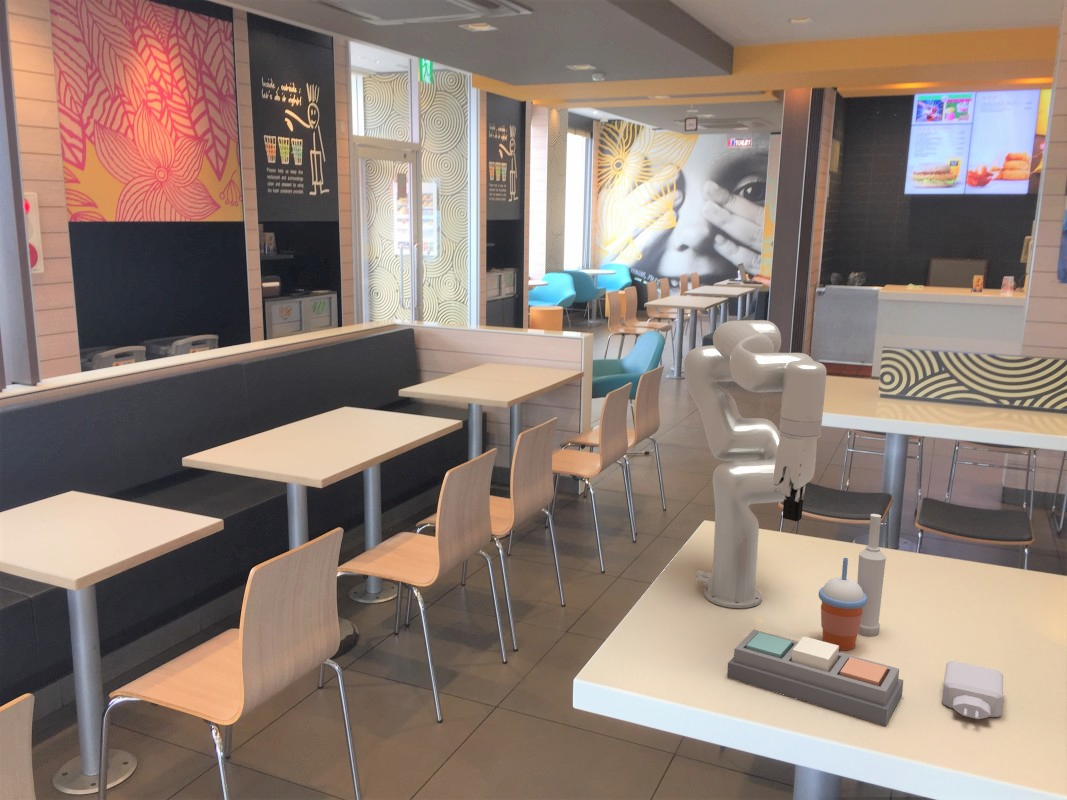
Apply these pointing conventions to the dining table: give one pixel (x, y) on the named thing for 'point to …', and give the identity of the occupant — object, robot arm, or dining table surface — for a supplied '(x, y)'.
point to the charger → (973, 690)
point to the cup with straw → (841, 610)
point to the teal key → (769, 645)
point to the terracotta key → (864, 671)
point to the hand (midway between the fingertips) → (791, 518)
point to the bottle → (871, 579)
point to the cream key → (815, 654)
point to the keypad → (817, 682)
